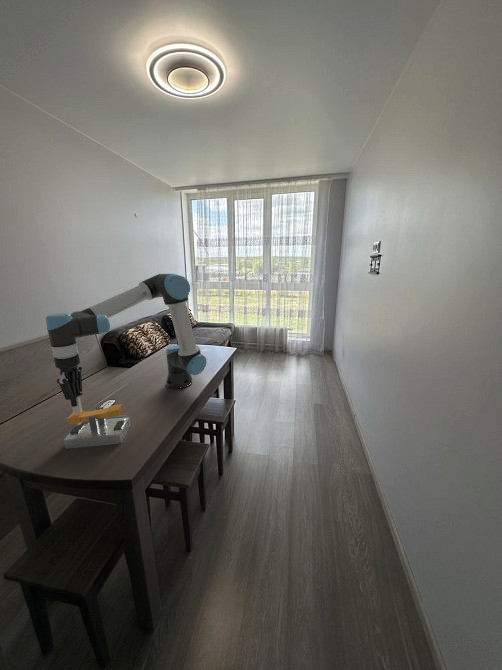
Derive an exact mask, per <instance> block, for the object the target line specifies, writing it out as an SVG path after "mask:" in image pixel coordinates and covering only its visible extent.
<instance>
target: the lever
mask: <svg viewBox="0 0 502 670" xmlns="http://www.w3.org/2000/svg"><path fill="white" fill-rule="evenodd" d="M124 410H125V409H124V405H123V403H118V404H114V405H110V406H109V407H106V408H103V409H99V410H96V409H94V410H87V411H85V409H84V410H83V409H82V412H81V413H73V412H72V413H70V415H69V416H68V417H67V418H66V420H67V424H68V425H69V426H70V425H74V424H75V425H77V424H78V423H81V422H84V421H89V417H90V416H96V417H97V419H101V418H107V417H108V418H110V417H115V416H122V413H123V412H124Z"/></svg>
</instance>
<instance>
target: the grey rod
mask: <svg viewBox="0 0 502 670" xmlns="http://www.w3.org/2000/svg"><path fill="white" fill-rule="evenodd" d="M125 417H129V416H128V415H127V414H125V415H124V414H123V415H122V414H121V415H120V416H115V417H110V418H108V417H107V418H105V419H114V418H125ZM97 420H98V419H97Z"/></svg>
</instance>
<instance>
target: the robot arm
mask: <svg viewBox="0 0 502 670" xmlns="http://www.w3.org/2000/svg"><path fill="white" fill-rule="evenodd" d="M189 282H190V281H189V280H188V279H187V278H186V277H185V276H183V275H182V274H178V273H159V274H155V275H153V276H151V277H149V278H147V279H145V280H142V281H140V282H139V283H138V285H137V286H134V287H132V288H130V289H128V290H126V291H125V290H124V292H121V293H119V294H117V295H114V296H112V297H109V298H107V299H105V300H103V301H101V302H98V303H96V304H93V305H92V306H90V307H87V308H85V309H82V310H78V311H77V310H76V311H72V312H71V313H68V312H65V313H64V312H61V313H53V314H48V315H47V316H46V318H45V324H46V329H47V333H48V338H49V341H50V346H51V351H52V356H53V357H54V358H53V360H54V366H55V368H57V369H58V370H60V374H59V375H60V378H58V379H56V383H57V384H58V385H59V387H60V389H61V391H62V395H63V396H64V399H65V400H66V401H70V405H71V411H72V413H81V412H82V411H83V406H82V401H81V397H80V396H82V395H83V380H82V377H83V376H82V371H83V366H78V365H80V364H81V361H80V355H79V349H78V345H77V338H84V337H89V336H94V335H95V336H96V335H101V334H105V333H108V332H109V331H110V329H111V325H110V319H109V318H112V317H113V316H115V315H118V314H120V313H122V312H124V311H126V310H128V309H130V308H133V307H135V306H137V305H138V304H140V303H143V302H145V301H151V300H154V299H157V298H162V299H163V303H164V305H165V306H167V307H168V309H169V314H170V317H171V320H172V324H173V329H174V332H175V335H176V339H177V343H178V344H177V345H173V346H169V347H168V348H166V352H165V353H166V354H165V355H166V362H167V363H166V365H167V377H166V380H165V383H166V387H167V386H168V387H167V388H169V387H171V388H170V389H172V388H180V387H184V386H187V385H189V384H190V383H191V382H192V381H193V377H192V376H197V375H200V374H201V373H203V371H204V370H205V368H206V367H207V358H206V356H205V355H204V354H202V353H201V348H200V346H198V345H197V344H196V340H195V336H194V331H193V328H192V323H191V318H190V314H189V310H188V306H187V303H188V301H189V295H190V293H191V285H190V283H189ZM192 383H193V382H192ZM189 386H190V385H189ZM180 389H181V388H180Z"/></svg>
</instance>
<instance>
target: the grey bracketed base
mask: <svg viewBox="0 0 502 670" xmlns="http://www.w3.org/2000/svg"><path fill="white" fill-rule="evenodd" d="M99 409H104V407H102V406H101V407H96V408H95V410H99ZM131 426H132V424H131V417H129V416H128V417H125V418H114V419H105V418H101V419H98V420H97V417H96V416H90V417H89V421H84V422H81V423H76V424H75V426H74V427H73V428H72V430H71V431H70V432H69V433H68V434H67V435H66V437H64V439H63V444H64V447H65V449H66V450H67V449H76V448H77V449H78V448H87V447H88V448H89V447H97V446H98V447H99V446H106V445H117V444H122V443H123V442H124V439H125V437H126V435H127V433H128V432H129V429H130V427H131Z"/></svg>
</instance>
